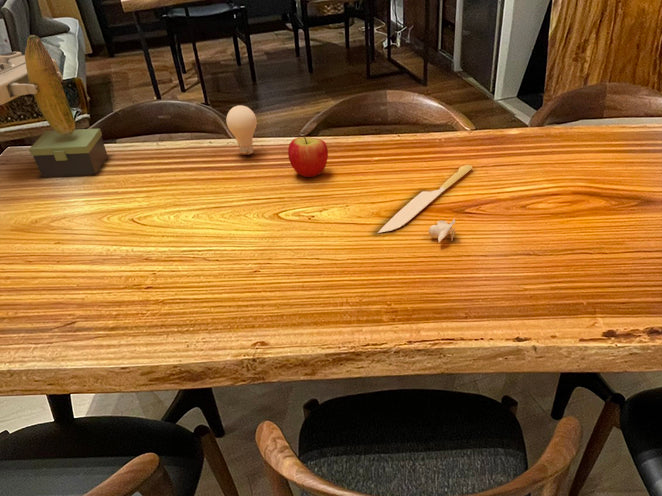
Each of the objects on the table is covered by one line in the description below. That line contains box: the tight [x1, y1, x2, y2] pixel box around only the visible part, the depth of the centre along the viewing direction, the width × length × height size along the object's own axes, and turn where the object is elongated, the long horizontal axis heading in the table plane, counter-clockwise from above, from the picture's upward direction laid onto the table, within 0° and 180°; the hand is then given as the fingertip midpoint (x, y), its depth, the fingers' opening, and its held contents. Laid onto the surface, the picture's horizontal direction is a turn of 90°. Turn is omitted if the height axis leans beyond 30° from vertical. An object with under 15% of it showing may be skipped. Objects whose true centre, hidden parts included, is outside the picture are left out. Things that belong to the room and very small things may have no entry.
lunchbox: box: [28, 128, 109, 178], centre depth 140 cm, size 12×11×6 cm
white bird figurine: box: [428, 217, 457, 243], centre depth 112 cm, size 8×5×5 cm, turn 177°
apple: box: [287, 129, 329, 178], centre depth 132 cm, size 8×8×10 cm
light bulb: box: [225, 104, 258, 156], centre depth 140 cm, size 7×7×11 cm
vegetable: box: [24, 34, 76, 136], centre depth 131 cm, size 6×6×20 cm
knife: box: [377, 164, 473, 234], centre depth 125 cm, size 1×34×5 cm
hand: (48, 82), depth 130 cm, fingers closed on vegetable, 6 cm apart
